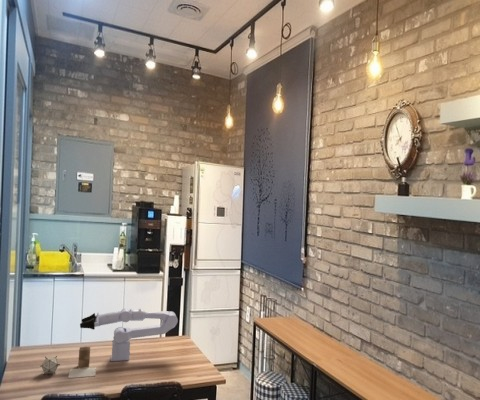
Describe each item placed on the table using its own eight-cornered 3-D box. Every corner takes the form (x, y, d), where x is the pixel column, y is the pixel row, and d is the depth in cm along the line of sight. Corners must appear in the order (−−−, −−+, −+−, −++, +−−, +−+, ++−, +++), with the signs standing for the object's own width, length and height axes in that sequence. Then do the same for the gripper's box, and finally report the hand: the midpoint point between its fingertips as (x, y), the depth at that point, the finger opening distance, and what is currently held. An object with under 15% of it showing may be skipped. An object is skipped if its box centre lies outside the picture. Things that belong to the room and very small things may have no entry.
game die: (50, 382, 189) (49, 371, 183) (36, 374, 191) (35, 362, 185) (64, 368, 196) (63, 356, 191) (50, 359, 198) (49, 348, 192)
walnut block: (89, 364, 204) (90, 346, 204) (88, 368, 199) (89, 350, 199) (79, 364, 202) (80, 347, 203) (78, 368, 198) (79, 350, 198)
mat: (96, 368, 199) (96, 367, 199) (94, 376, 190) (95, 375, 190) (70, 370, 196) (70, 369, 196) (68, 378, 186) (68, 377, 186)
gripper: (107, 307, 219) (81, 312, 215) (106, 315, 205) (78, 320, 201) (109, 320, 219) (83, 324, 216) (107, 328, 205) (80, 333, 202)
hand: (81, 323), depth 209 cm, fingers open, 7 cm apart
